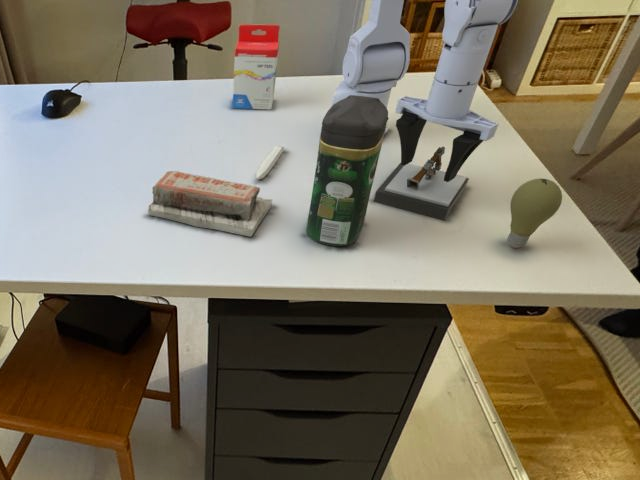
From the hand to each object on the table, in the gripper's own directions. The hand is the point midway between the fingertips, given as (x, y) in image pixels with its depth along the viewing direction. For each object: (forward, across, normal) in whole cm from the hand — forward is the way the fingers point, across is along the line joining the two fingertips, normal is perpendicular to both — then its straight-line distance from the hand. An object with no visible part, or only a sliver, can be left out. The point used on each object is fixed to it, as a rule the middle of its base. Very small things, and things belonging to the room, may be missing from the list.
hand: (427, 170), depth 84 cm
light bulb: (+4, -17, +3) cm, 18 cm away
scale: (+4, 0, 0) cm, 4 cm away
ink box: (+4, +45, -8) cm, 46 cm away
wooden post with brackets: (+2, 0, 0) cm, 2 cm away
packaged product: (+4, +20, +28) cm, 34 cm away
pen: (+4, +24, +10) cm, 26 cm away
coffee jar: (+4, +3, +18) cm, 19 cm away
